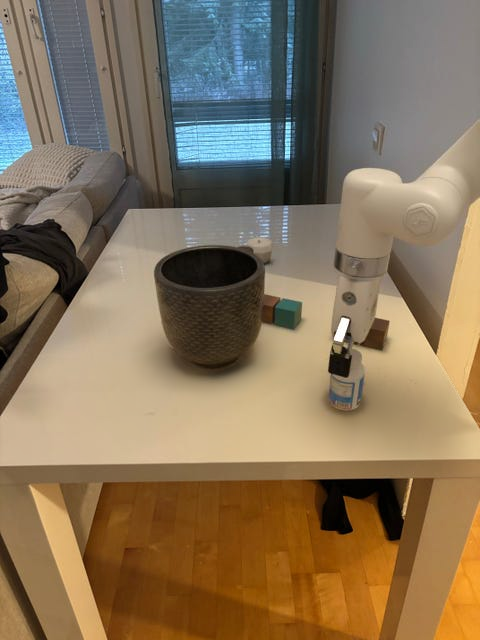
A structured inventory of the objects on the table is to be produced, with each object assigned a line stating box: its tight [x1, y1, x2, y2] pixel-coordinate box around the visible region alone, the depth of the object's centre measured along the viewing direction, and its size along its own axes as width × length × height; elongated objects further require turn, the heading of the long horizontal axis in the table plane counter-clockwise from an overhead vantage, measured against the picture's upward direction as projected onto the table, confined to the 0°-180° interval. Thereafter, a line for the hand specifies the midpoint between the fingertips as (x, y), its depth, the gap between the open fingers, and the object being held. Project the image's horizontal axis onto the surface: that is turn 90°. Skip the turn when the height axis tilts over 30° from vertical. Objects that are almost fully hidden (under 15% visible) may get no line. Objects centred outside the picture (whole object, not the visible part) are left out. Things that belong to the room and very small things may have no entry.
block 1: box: [262, 293, 282, 325], centre depth 102 cm, size 4×4×4 cm
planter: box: [153, 244, 266, 370], centre depth 87 cm, size 20×20×19 cm
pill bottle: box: [328, 347, 366, 412], centre depth 77 cm, size 6×5×10 cm
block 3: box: [360, 317, 391, 351], centre depth 93 cm, size 4×4×4 cm
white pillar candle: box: [245, 237, 274, 264], centre depth 128 cm, size 8×8×7 cm
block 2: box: [274, 297, 303, 330], centre depth 101 cm, size 4×4×4 cm
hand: (346, 357), depth 75 cm, fingers open, 9 cm apart
